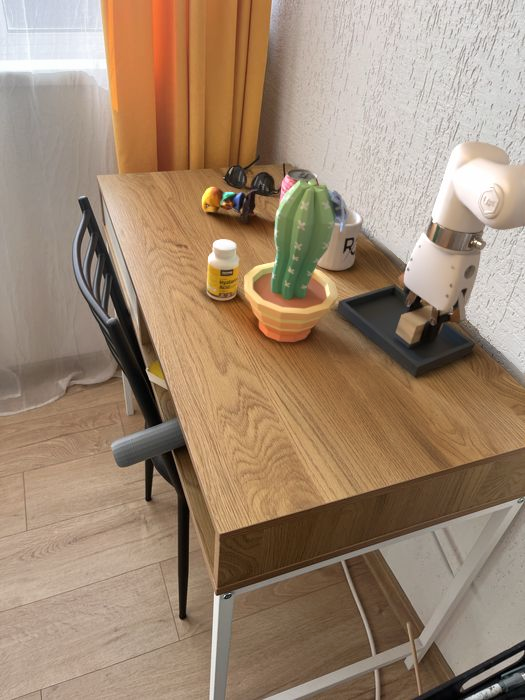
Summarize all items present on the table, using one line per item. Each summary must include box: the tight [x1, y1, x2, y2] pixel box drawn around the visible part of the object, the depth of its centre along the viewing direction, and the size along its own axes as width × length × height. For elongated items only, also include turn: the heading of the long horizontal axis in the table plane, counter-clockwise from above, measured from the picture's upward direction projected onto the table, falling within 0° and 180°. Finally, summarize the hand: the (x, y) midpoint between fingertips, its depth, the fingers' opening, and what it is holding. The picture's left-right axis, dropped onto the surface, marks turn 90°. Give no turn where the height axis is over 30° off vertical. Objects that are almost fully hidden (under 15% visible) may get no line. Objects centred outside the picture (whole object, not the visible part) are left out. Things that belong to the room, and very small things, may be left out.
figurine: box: [201, 186, 258, 225], centre depth 118 cm, size 11×8×6 cm, turn 66°
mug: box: [316, 207, 364, 272], centre depth 106 cm, size 12×9×10 cm
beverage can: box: [278, 168, 320, 207], centre depth 114 cm, size 8×8×12 cm
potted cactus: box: [243, 179, 348, 343], centre depth 81 cm, size 15×15×25 cm
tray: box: [336, 283, 476, 378], centre depth 90 cm, size 20×14×2 cm
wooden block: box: [395, 304, 443, 348], centre depth 87 cm, size 7×4×4 cm, turn 122°
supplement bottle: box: [206, 238, 240, 302], centre depth 92 cm, size 5×5×10 cm
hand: (418, 331), depth 88 cm, fingers closed on wooden block, 3 cm apart
